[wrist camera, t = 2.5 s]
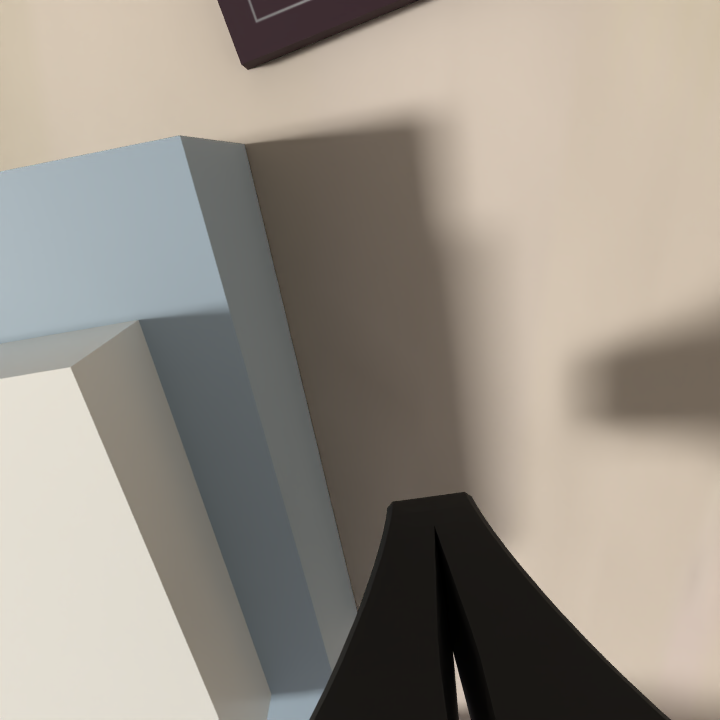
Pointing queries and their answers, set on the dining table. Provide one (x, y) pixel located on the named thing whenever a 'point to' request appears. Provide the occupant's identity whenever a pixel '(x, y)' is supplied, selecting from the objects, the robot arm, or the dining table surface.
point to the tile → (109, 546)
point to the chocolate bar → (293, 23)
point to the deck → (197, 366)
